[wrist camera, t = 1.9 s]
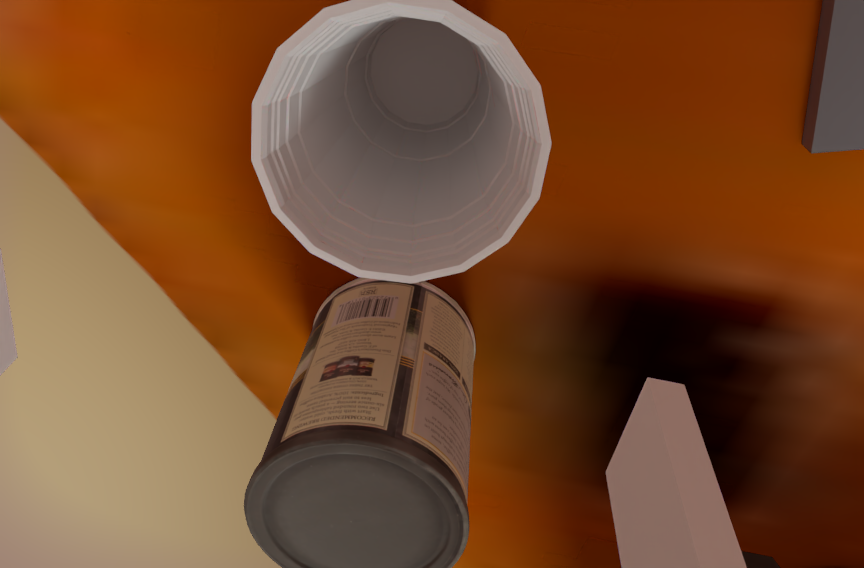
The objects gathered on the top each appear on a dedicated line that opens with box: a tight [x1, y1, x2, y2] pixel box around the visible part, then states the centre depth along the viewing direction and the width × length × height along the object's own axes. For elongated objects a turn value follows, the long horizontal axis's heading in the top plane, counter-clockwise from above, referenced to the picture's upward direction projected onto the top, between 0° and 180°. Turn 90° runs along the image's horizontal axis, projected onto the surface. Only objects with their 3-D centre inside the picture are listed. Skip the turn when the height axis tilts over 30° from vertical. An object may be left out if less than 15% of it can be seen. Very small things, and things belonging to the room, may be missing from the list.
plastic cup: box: [251, 0, 552, 284], centre depth 31 cm, size 11×11×12 cm
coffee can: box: [244, 278, 476, 568], centre depth 39 cm, size 10×10×14 cm
